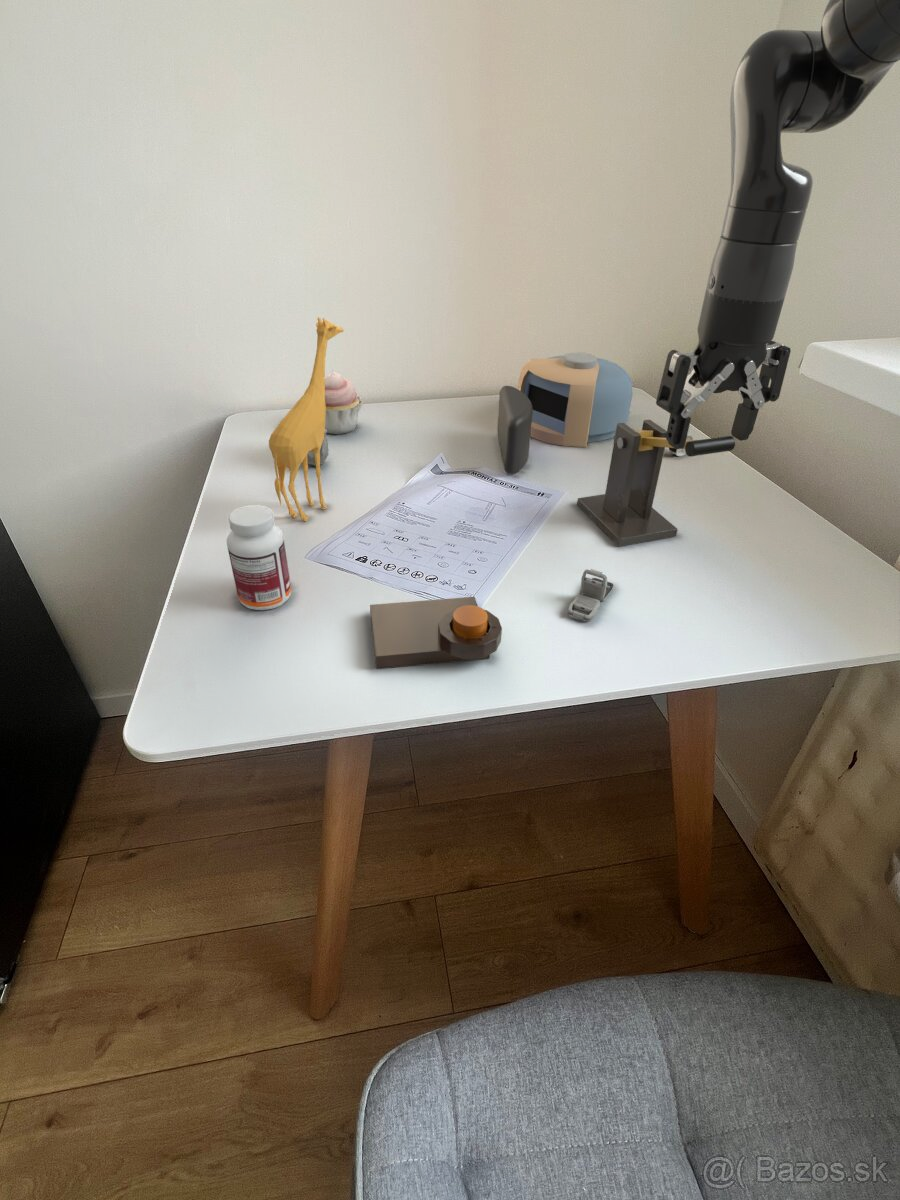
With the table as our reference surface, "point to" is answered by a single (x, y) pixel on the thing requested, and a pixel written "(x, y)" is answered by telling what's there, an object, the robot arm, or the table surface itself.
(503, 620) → the table surface
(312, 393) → the giraffe
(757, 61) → the robot arm
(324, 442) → the stone
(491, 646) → the switch block
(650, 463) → the lever stand
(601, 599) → the strap clip
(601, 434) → the alarm clock
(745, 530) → the table surface
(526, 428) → the leaning round-cornered charcoal block
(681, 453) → the smartwatch
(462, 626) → the light button
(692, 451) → the lever handle
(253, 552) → the pill bottle
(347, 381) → the cupcake
